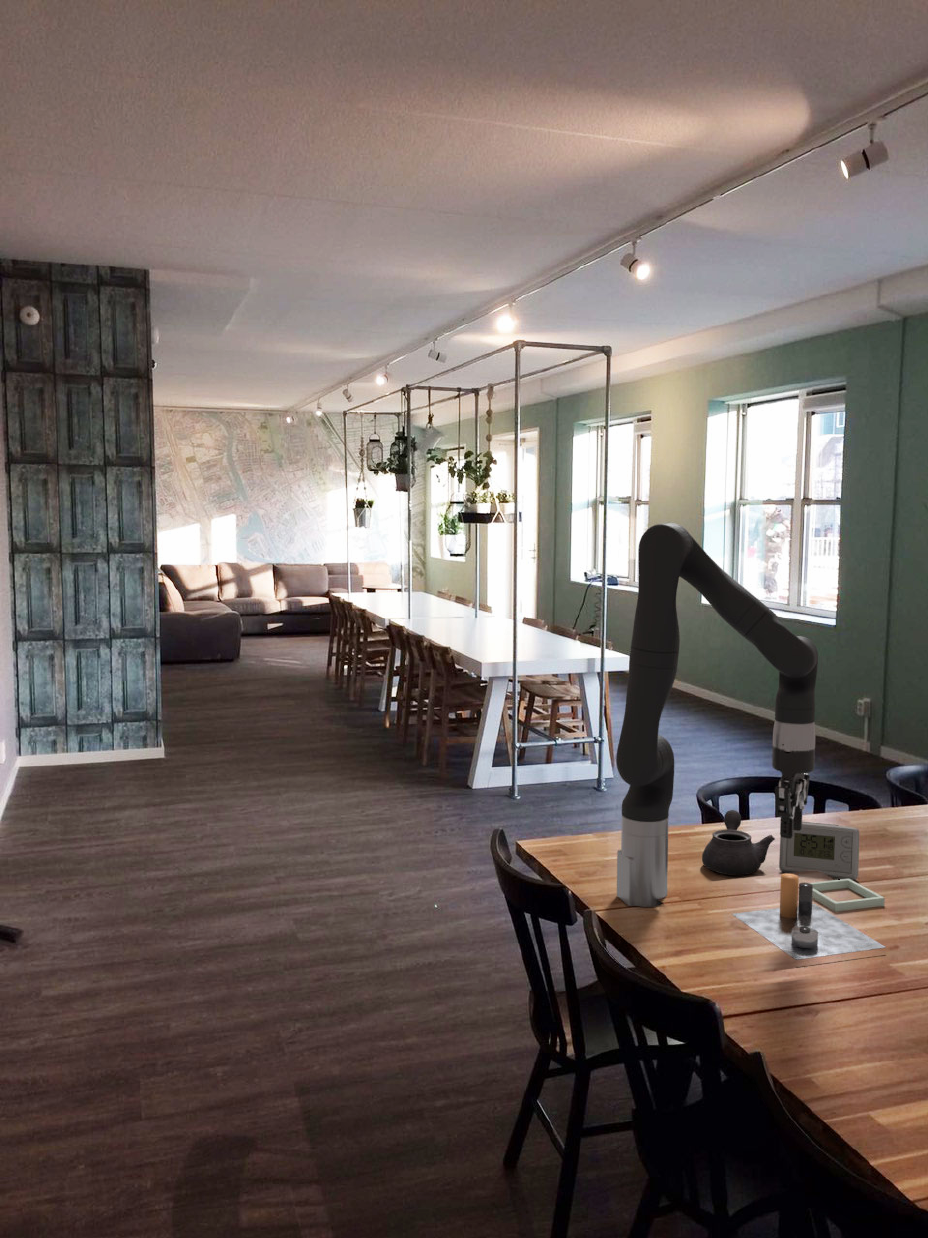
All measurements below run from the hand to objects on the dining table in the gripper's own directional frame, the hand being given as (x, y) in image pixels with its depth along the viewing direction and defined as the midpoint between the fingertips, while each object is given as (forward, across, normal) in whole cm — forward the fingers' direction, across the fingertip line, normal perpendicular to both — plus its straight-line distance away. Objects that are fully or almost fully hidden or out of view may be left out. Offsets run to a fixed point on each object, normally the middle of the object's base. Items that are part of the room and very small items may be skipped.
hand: (791, 833), depth 194 cm
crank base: (+17, +5, +5) cm, 19 cm away
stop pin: (+16, 0, 0) cm, 16 cm away
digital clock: (+18, -30, -3) cm, 35 cm away
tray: (+17, -14, +6) cm, 23 cm away
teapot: (+18, -26, -20) cm, 37 cm away
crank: (+16, +6, +5) cm, 17 cm away
